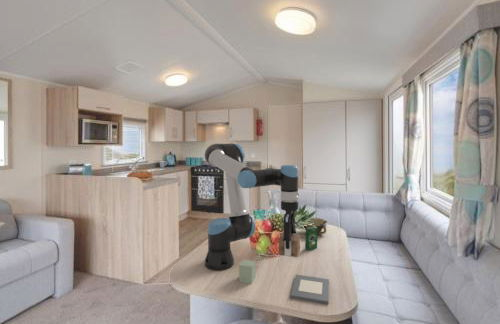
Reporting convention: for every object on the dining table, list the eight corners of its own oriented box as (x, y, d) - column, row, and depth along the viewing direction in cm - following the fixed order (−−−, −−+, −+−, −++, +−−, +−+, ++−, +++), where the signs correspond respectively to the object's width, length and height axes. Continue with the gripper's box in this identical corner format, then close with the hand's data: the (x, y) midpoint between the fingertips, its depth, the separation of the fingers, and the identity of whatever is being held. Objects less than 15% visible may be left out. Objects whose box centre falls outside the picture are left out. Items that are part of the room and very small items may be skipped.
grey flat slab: (290, 297, 110) (290, 294, 110) (296, 276, 127) (296, 274, 127) (328, 304, 106) (328, 301, 105) (328, 281, 123) (328, 279, 123)
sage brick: (239, 281, 123) (239, 264, 122) (243, 275, 128) (243, 259, 128) (251, 283, 121) (251, 266, 120) (255, 277, 127) (255, 261, 126)
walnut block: (278, 254, 115) (278, 238, 114) (282, 248, 122) (282, 233, 122) (297, 257, 112) (297, 240, 112) (299, 250, 120) (299, 234, 119)
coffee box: (314, 246, 164) (314, 225, 164) (317, 248, 162) (318, 226, 161) (304, 249, 160) (305, 227, 159) (308, 250, 158) (308, 229, 157)
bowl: (296, 234, 187) (296, 220, 186) (308, 228, 200) (309, 215, 200) (320, 240, 175) (320, 225, 175) (331, 233, 189) (331, 219, 188)
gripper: (294, 206, 105) (294, 262, 106) (301, 196, 125) (301, 244, 126) (275, 205, 107) (276, 260, 109) (285, 195, 127) (285, 242, 128)
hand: (289, 251), depth 117 cm, fingers closed on walnut block, 8 cm apart
